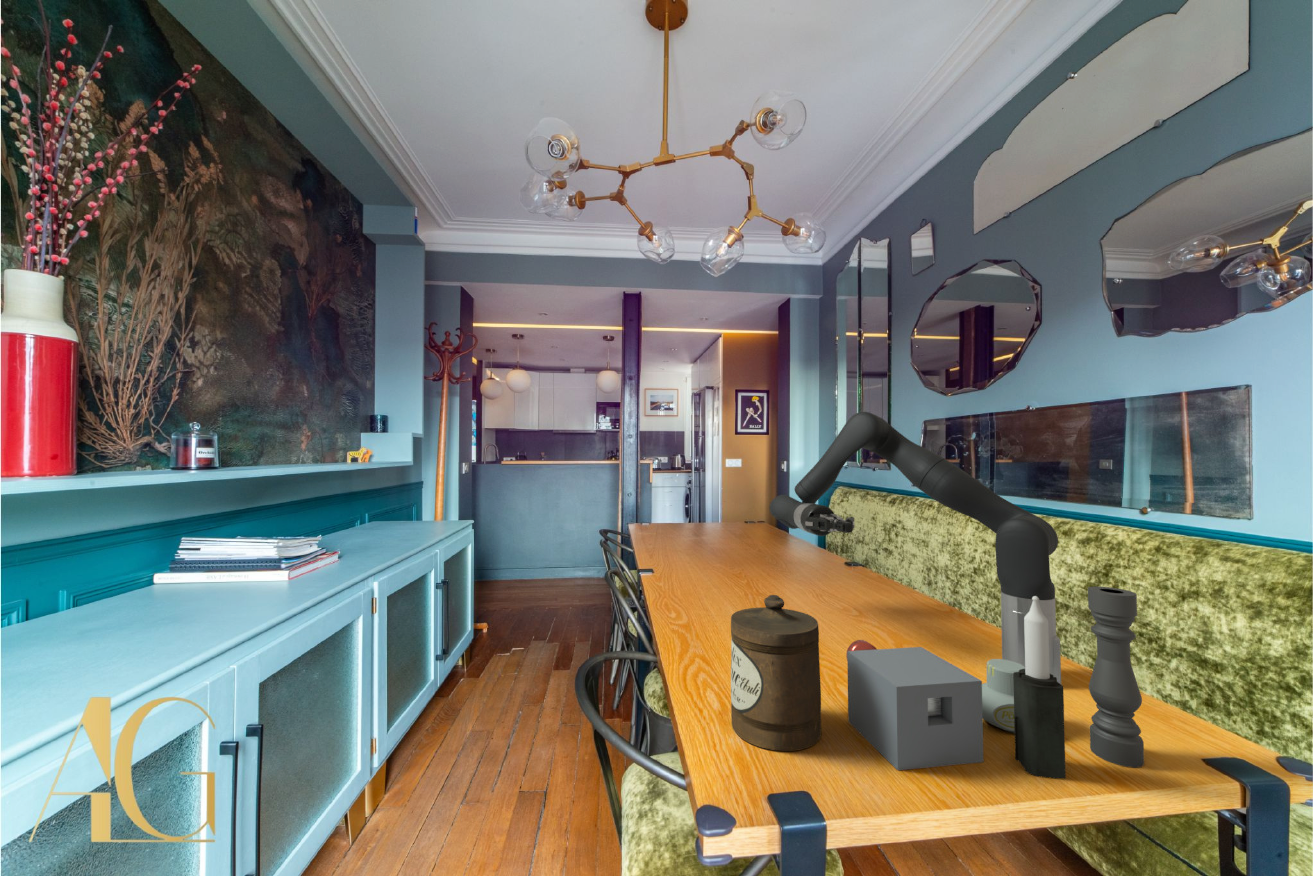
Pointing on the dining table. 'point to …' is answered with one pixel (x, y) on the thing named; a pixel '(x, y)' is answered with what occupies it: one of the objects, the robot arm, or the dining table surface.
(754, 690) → the wooden container
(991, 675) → the air freshener
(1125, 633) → the candle holder
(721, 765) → the dining table surface
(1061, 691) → the candle
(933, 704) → the plunger
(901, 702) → the housing
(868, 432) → the robot arm
